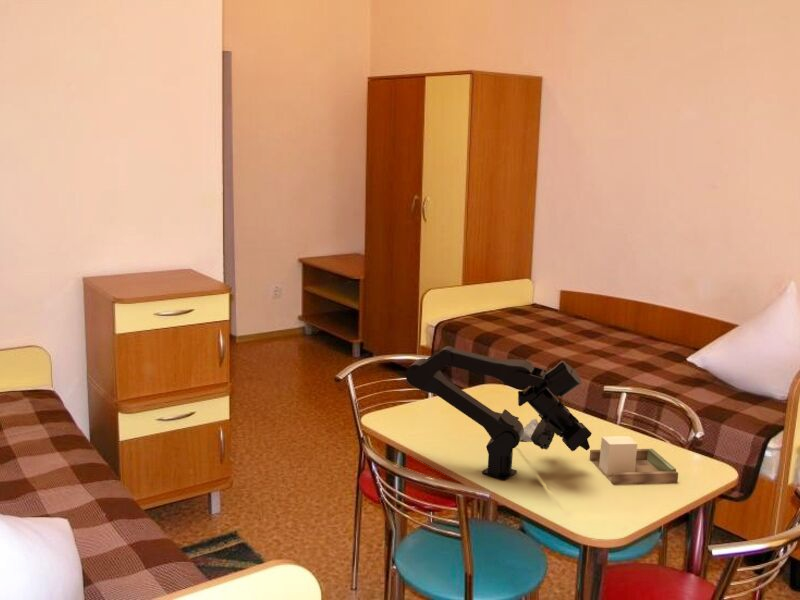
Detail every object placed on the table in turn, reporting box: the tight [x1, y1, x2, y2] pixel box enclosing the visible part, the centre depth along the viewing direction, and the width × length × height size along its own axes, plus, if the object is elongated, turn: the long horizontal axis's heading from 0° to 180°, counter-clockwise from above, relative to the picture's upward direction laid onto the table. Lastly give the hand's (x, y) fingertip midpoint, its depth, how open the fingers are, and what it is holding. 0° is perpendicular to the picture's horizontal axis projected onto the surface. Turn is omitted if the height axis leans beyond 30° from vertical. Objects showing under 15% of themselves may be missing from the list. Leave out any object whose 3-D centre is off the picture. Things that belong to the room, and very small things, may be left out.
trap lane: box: [589, 448, 679, 486], centre depth 192 cm, size 16×15×4 cm
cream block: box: [599, 435, 638, 476], centre depth 191 cm, size 7×5×8 cm
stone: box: [520, 418, 539, 443], centre depth 216 cm, size 6×12×4 cm, turn 153°
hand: (588, 448), depth 189 cm, fingers closed
